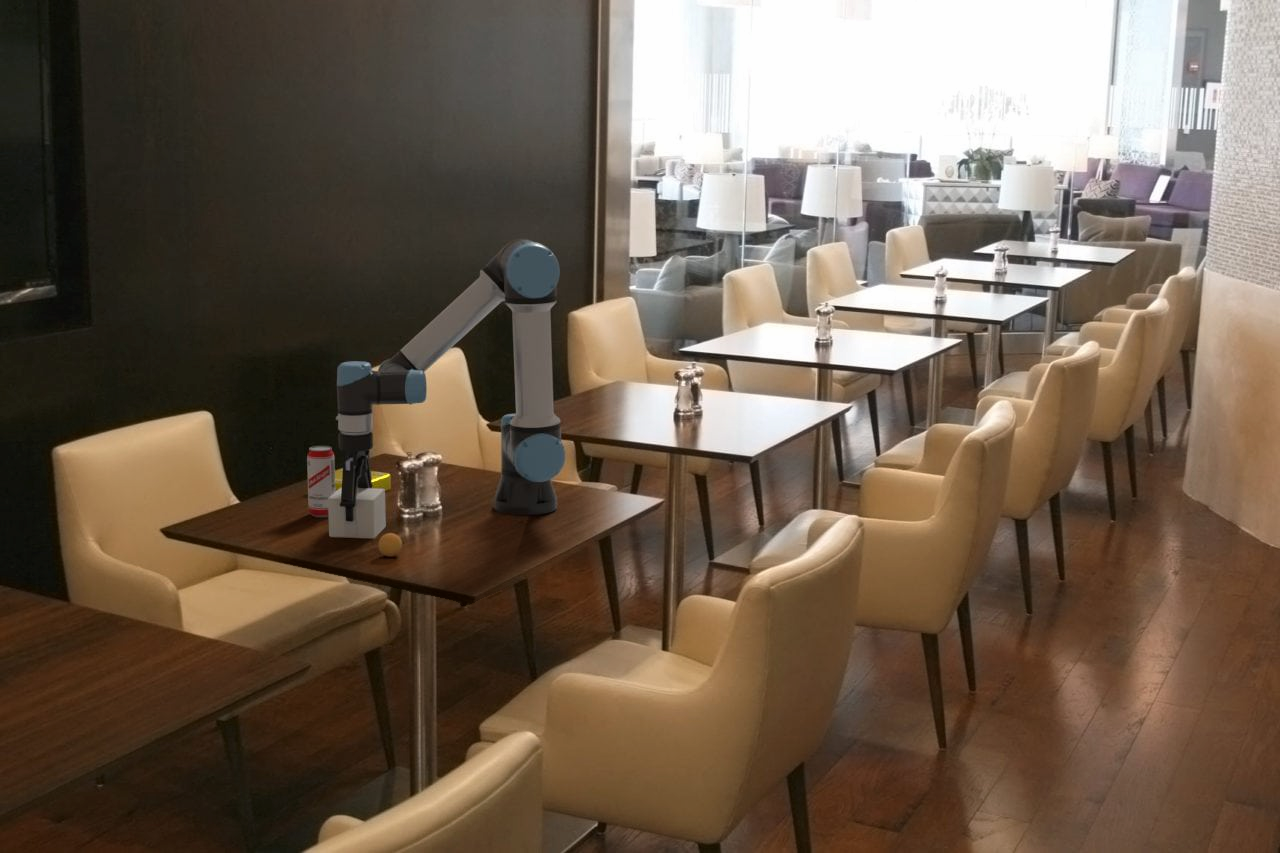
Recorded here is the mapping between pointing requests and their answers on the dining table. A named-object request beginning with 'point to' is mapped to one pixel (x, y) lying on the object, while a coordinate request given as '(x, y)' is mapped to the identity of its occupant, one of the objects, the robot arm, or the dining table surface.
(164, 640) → the dining table surface
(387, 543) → the ball
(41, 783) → the dining table surface
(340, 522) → the white cube
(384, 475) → the element tile
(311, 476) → the beer can
